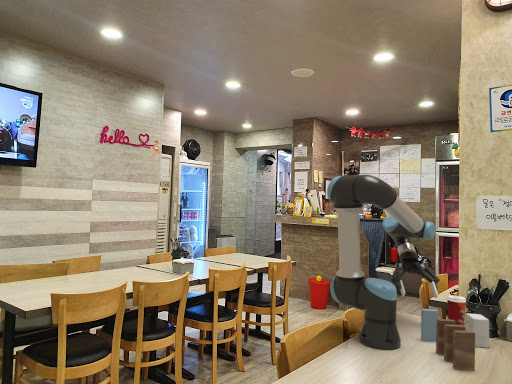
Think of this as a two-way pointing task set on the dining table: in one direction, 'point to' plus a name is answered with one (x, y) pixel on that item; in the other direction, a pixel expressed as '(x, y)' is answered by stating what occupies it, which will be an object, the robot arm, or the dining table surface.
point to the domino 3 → (464, 350)
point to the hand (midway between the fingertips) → (420, 295)
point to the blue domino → (429, 324)
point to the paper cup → (456, 309)
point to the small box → (478, 329)
